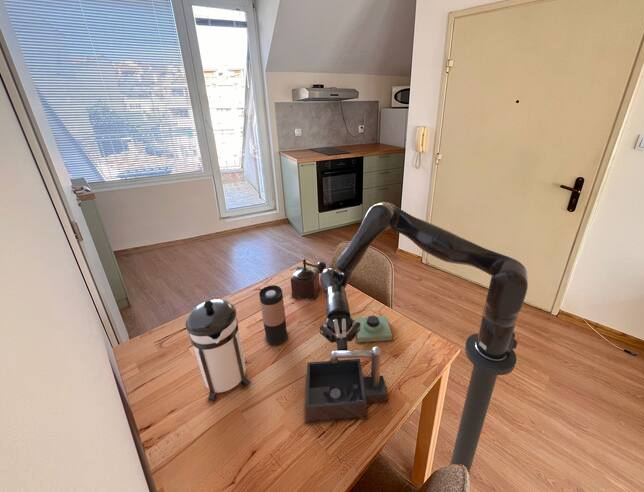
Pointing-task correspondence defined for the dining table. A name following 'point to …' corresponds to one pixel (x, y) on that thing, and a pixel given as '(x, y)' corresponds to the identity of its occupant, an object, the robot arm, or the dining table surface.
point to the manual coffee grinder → (306, 280)
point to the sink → (339, 391)
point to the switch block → (373, 330)
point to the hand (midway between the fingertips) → (342, 351)
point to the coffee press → (217, 345)
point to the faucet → (373, 353)
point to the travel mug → (273, 314)
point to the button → (373, 321)
